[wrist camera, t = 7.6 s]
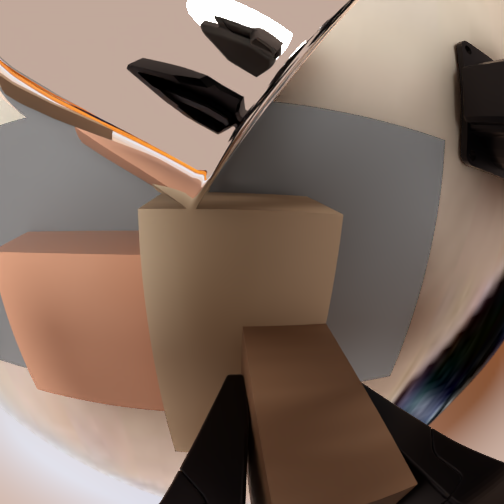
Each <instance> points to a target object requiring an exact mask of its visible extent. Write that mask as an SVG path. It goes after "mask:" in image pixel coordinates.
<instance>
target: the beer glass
mask: <svg viewBox="0 0 504 504" xmlns="http://www.w3.org/2000/svg"><path fill="white" fill-rule="evenodd" d="M358 1H359V0H0V97H1V98H2V99H3V100H4V101H5V102H7V103H8V104H9V105H10V106H12V107H13V108H14V109H16V110H17V111H18V112H20V113H21V114H22V115H24V116H25V117H27V118H28V119H29V120H31V121H32V122H33V123H35V124H36V125H37V126H39V127H41V128H42V129H44V130H46V131H47V132H49V133H51V134H52V135H54V136H55V137H57V138H59V139H60V140H62V141H64V142H65V143H67V144H69V145H70V146H72V147H74V148H75V149H77V150H79V151H81V152H83V153H85V154H87V155H89V156H90V157H92V158H94V159H96V160H98V161H100V162H102V163H104V164H106V165H107V166H109V167H111V168H113V169H115V170H117V171H119V172H121V173H123V174H125V175H127V176H129V177H131V178H133V179H135V180H137V181H139V182H141V183H143V184H145V185H147V186H149V187H150V188H152V189H154V190H156V191H158V192H160V193H162V194H163V195H165V196H167V197H169V198H171V199H173V200H174V201H176V202H178V203H179V204H181V205H183V206H184V207H185V208H187V210H189V211H194V210H196V208H197V207H198V206H199V204H200V203H201V202H202V200H203V199H204V197H205V196H206V194H207V193H208V191H209V190H210V188H211V187H212V185H213V184H214V182H215V181H216V180H217V178H218V177H219V175H220V174H221V172H222V171H223V169H224V168H225V167H226V165H227V164H228V162H229V161H230V159H231V158H232V157H233V155H234V154H235V152H236V151H237V150H238V148H239V147H240V145H241V144H242V143H243V141H244V140H245V138H246V137H247V136H248V134H249V133H250V132H251V130H252V129H253V128H254V126H255V125H256V123H257V122H258V121H259V119H260V118H261V117H262V115H263V114H264V113H265V111H266V110H267V109H268V108H269V106H270V105H271V104H272V102H273V101H274V100H275V98H276V97H277V96H278V95H279V93H280V92H281V91H282V89H283V88H284V87H285V86H286V84H287V83H288V82H289V81H290V79H291V78H292V77H293V76H294V74H295V73H296V72H297V71H298V69H299V68H300V67H301V66H302V65H303V63H304V62H305V61H306V60H307V58H308V57H309V56H310V55H311V54H312V53H313V51H314V50H315V49H316V48H317V47H318V45H319V44H320V43H321V42H322V41H323V40H324V38H325V37H326V36H327V35H328V34H329V33H330V32H331V30H332V29H333V28H334V27H335V26H336V25H337V24H338V23H339V21H340V20H341V19H342V18H343V17H344V16H345V15H346V14H347V13H348V11H349V10H350V9H351V8H352V7H353V6H354V5H355V4H356V3H357V2H358Z"/></svg>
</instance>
